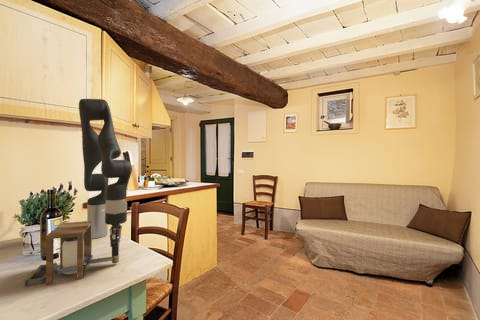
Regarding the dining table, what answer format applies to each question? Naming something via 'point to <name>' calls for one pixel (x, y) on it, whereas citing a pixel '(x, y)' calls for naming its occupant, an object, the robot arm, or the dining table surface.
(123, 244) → the dining table surface
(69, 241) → the can
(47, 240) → the brown wooden stool
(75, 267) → the lever handle
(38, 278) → the pit trap
